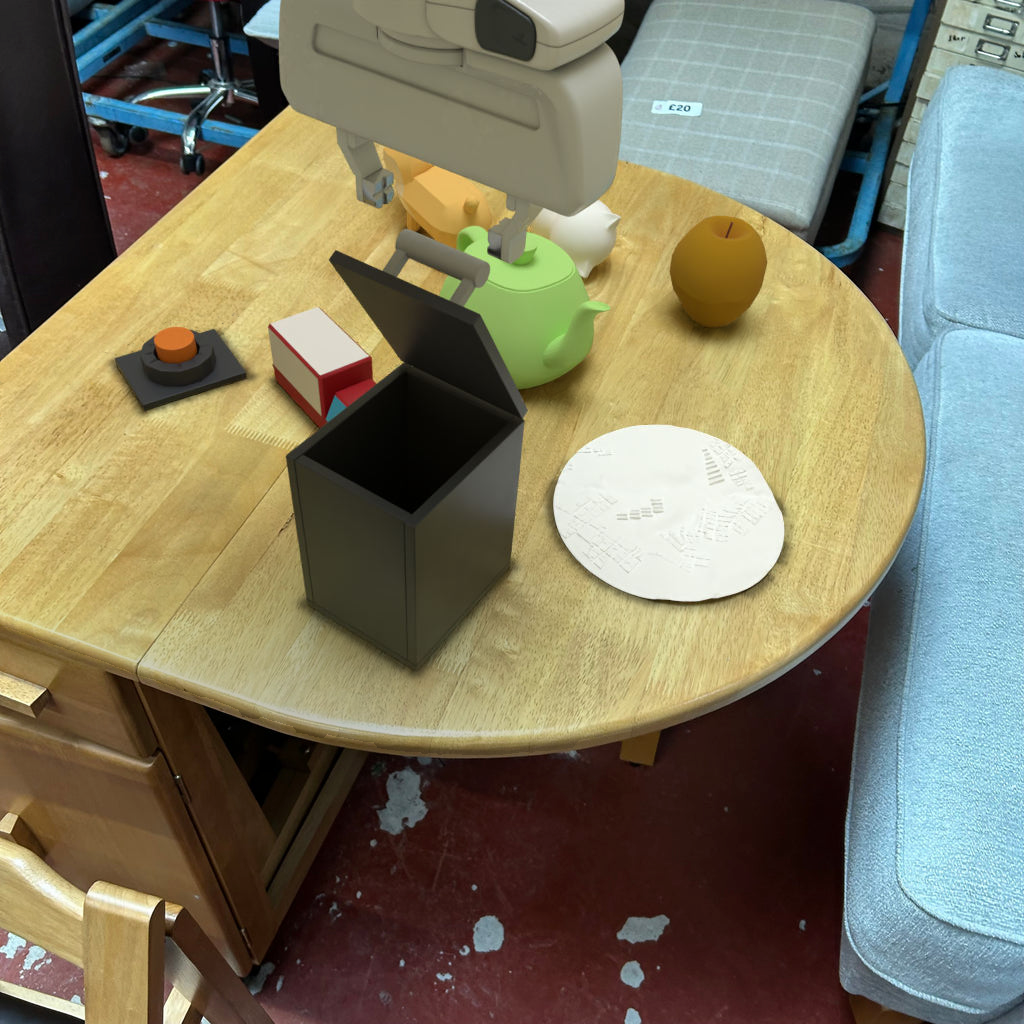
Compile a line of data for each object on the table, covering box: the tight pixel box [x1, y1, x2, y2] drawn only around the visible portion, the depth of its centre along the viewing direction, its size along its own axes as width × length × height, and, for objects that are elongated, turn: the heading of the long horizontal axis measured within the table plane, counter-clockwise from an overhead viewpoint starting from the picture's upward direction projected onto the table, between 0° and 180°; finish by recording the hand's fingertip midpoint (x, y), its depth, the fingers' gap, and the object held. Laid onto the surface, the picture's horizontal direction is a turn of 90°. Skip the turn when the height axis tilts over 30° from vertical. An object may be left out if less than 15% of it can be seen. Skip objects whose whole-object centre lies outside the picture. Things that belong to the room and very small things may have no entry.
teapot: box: [438, 226, 612, 390], centre depth 92 cm, size 22×15×13 cm
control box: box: [114, 328, 248, 411], centre depth 91 cm, size 10×8×2 cm
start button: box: [154, 326, 197, 363], centre depth 90 cm, size 4×4×2 cm
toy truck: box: [267, 306, 378, 429], centre depth 87 cm, size 6×15×7 cm, turn 38°
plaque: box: [552, 424, 785, 602], centre depth 83 cm, size 20×20×2 cm
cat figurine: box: [529, 199, 622, 279], centre depth 109 cm, size 9×11×12 cm
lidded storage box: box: [285, 362, 525, 672], centre depth 70 cm, size 13×11×16 cm
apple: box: [669, 215, 768, 328], centre depth 100 cm, size 10×10×12 cm
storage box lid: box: [328, 228, 529, 420], centre depth 62 cm, size 13×11×5 cm
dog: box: [382, 146, 493, 249], centre depth 107 cm, size 8×20×13 cm, turn 33°
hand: (438, 228), depth 56 cm, fingers open, 8 cm apart
